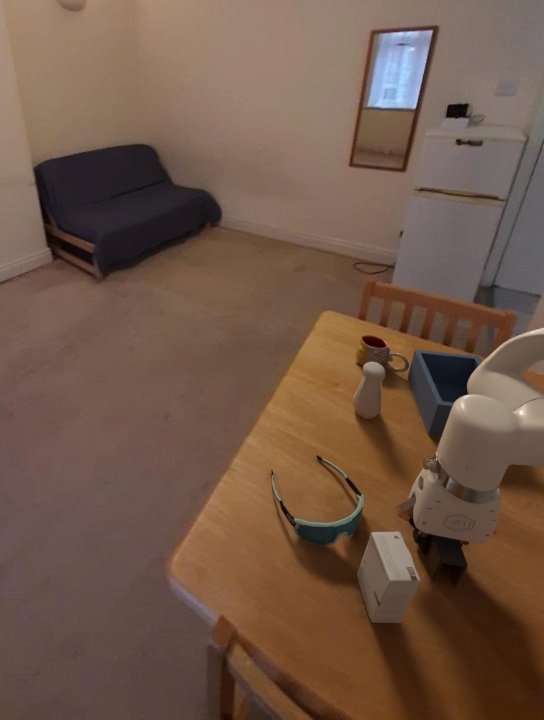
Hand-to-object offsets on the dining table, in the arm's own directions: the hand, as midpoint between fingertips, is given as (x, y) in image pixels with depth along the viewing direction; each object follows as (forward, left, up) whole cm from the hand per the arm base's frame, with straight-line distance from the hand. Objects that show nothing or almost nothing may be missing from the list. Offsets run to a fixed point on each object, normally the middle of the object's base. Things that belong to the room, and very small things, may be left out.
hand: (434, 545), depth 65 cm
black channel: (0, 0, 0) cm, 0 cm away
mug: (0, -41, -1) cm, 41 cm away
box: (-12, -30, 0) cm, 32 cm away
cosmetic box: (+10, +9, -1) cm, 13 cm away
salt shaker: (+6, -26, -1) cm, 27 cm away
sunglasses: (+18, -4, -1) cm, 18 cm away
